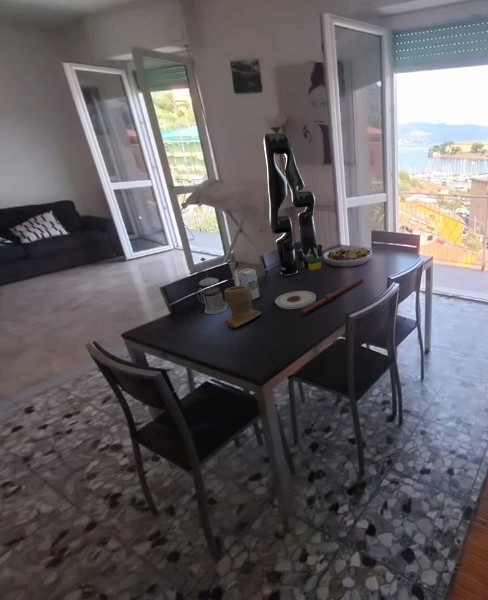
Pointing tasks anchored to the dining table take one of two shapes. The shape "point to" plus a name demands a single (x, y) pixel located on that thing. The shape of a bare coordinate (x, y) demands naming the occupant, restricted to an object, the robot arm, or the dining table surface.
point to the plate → (295, 300)
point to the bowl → (347, 256)
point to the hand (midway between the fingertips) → (312, 267)
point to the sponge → (313, 263)
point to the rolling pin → (330, 296)
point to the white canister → (249, 282)
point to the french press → (218, 299)
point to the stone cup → (239, 306)
